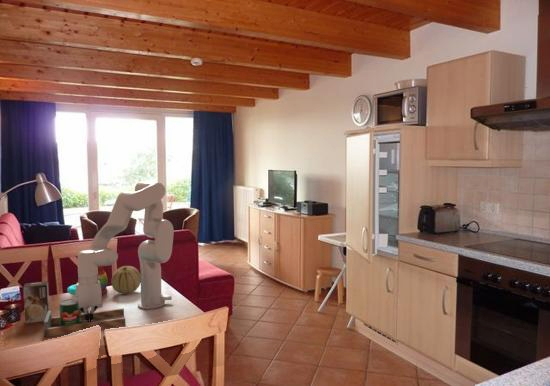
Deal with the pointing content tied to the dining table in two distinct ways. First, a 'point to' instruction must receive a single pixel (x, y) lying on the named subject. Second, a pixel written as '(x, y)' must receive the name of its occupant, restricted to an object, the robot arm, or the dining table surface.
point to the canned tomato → (69, 312)
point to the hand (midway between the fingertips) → (89, 322)
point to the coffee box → (36, 301)
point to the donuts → (72, 290)
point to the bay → (76, 327)
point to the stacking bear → (103, 280)
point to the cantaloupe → (126, 280)
